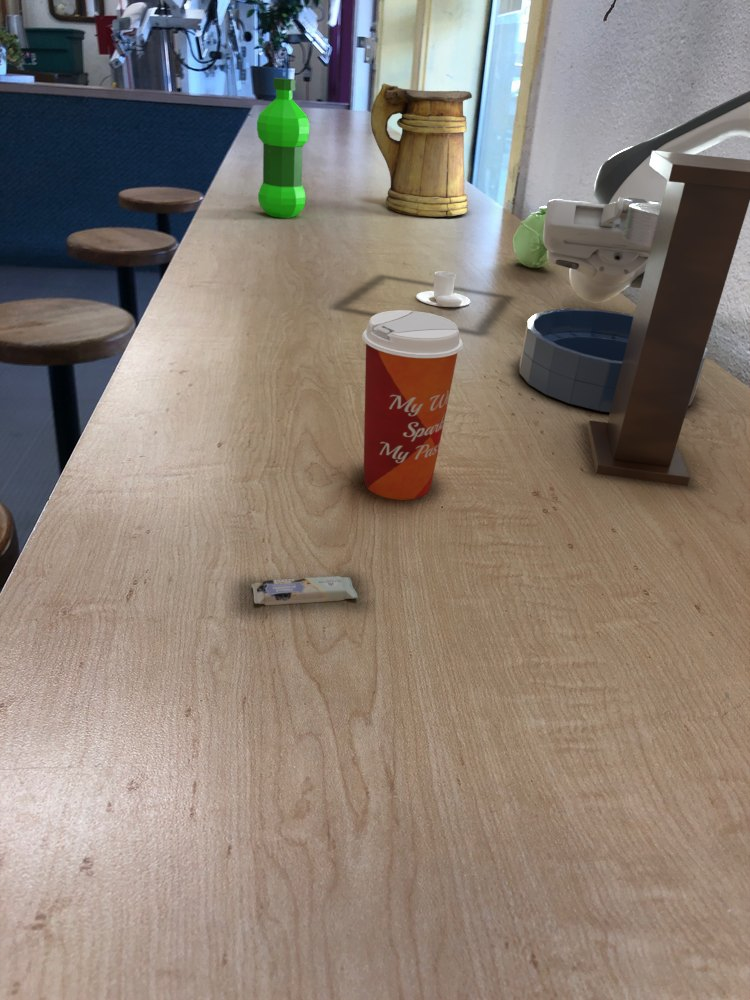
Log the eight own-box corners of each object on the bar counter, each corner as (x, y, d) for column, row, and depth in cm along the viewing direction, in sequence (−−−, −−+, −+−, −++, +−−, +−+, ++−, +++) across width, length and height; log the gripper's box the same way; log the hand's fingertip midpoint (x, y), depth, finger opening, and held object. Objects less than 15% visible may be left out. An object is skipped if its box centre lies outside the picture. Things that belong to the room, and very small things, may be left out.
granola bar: (351, 583, 53) (352, 571, 53) (357, 604, 51) (358, 591, 51) (251, 589, 52) (251, 576, 51) (253, 610, 50) (253, 597, 49)
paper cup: (391, 519, 61) (410, 346, 54) (332, 478, 66) (342, 315, 59) (462, 493, 66) (488, 330, 59) (402, 456, 71) (419, 303, 64)
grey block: (663, 212, 93) (670, 185, 92) (702, 253, 74) (711, 220, 73) (603, 205, 94) (609, 178, 93) (626, 245, 75) (634, 212, 73)
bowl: (675, 367, 98) (688, 320, 95) (708, 431, 81) (725, 376, 78) (518, 347, 100) (526, 300, 97) (518, 406, 83) (528, 351, 80)
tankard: (472, 221, 173) (489, 94, 161) (365, 213, 171) (374, 84, 159) (461, 206, 189) (476, 89, 176) (363, 199, 187) (371, 80, 175)
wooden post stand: (667, 441, 78) (750, 160, 65) (686, 489, 70) (786, 175, 57) (586, 430, 79) (652, 150, 66) (595, 476, 70) (672, 163, 57)
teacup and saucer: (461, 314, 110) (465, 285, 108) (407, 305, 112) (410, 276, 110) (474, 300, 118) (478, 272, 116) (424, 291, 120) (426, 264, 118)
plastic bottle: (287, 210, 167) (290, 77, 155) (316, 220, 160) (322, 82, 148) (247, 213, 161) (246, 75, 149) (275, 223, 155) (277, 80, 142)
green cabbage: (487, 264, 138) (496, 199, 133) (527, 258, 145) (537, 196, 140) (541, 281, 131) (554, 213, 125) (580, 274, 138) (594, 208, 132)
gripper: (692, 278, 102) (730, 243, 89) (535, 260, 104) (547, 223, 91) (700, 230, 102) (738, 188, 89) (542, 213, 104) (555, 169, 91)
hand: (640, 205), depth 90 cm, fingers closed on grey block, 2 cm apart
